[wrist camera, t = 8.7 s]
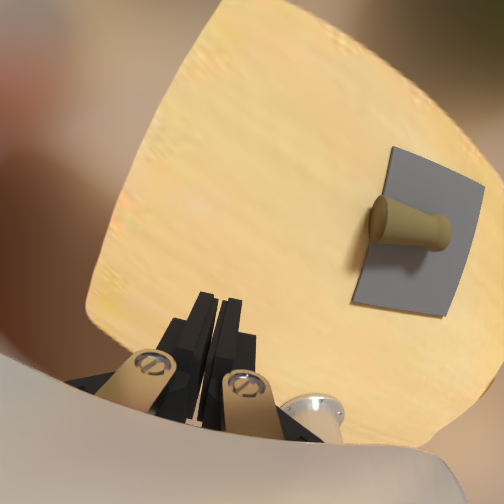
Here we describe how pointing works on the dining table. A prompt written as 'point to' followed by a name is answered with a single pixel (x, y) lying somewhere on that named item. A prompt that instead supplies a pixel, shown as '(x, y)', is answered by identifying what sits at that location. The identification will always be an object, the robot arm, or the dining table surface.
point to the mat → (415, 256)
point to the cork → (407, 226)
